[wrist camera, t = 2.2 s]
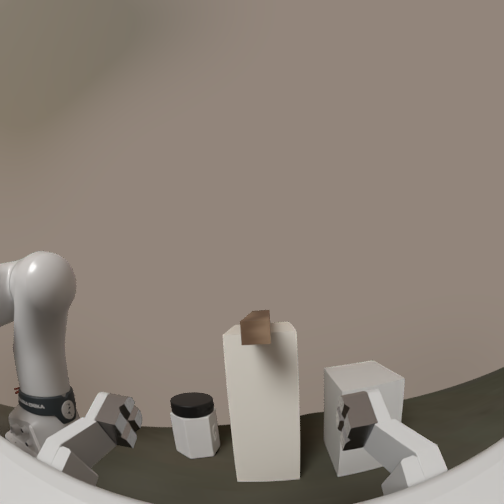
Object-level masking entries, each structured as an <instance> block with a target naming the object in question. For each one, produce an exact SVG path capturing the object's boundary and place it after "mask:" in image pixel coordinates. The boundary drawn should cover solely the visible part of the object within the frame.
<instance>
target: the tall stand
mask: <svg viewBox="0 0 504 504" xmlns="http://www.w3.org/2000/svg"><path fill="white" fill-rule="evenodd" d="M270 334H271V344H258V345H242V344H241V329H240V325H235V326H233V327H232V328H231V329H230V330H228V331H227V332H226V333H225V334H223V347H224V359H225V371H226V383H227V394H228V404H229V414H230V424H231V433H232V442H233V450H234V458H235V466H236V474H237V482H263V481H283V480H295V479H300V409H299V408H300V407H299V375H298V353H297V333H296V329H295V328H294V327H293V326H292V325H291V323H290V322H277V323H270Z"/></svg>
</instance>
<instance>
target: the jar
mask: <svg viewBox="0 0 504 504" xmlns="http://www.w3.org/2000/svg"><path fill="white" fill-rule="evenodd" d="M170 402H171V408H172V412H171V413H170V416H171V422H172V428H173V433H174V438H175V443H176V448H177V451H178V452H180V453H182V454H183V455H185V456H187V457H189V458H190V459H195V458H203V457H211V456H214V455H215V453H216V452H217V450H218V448H219V447H220V440H219V432H218V424H217V416H216V409H215V408H214V403H213V398H212V397H211V396H210V395H208V394H204V393H183V394H179V395H176V396H174V397H172V398H171V400H170Z"/></svg>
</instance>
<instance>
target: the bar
mask: <svg viewBox="0 0 504 504" xmlns="http://www.w3.org/2000/svg"><path fill="white" fill-rule="evenodd" d="M240 329H241V344H242V345H258V344H271V334H270V314H269V310H261V311H252V312H251V313H250V314H249V315H247V317H245V318H244V319H243V320H241V321H240Z"/></svg>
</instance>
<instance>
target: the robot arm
mask: <svg viewBox="0 0 504 504" xmlns="http://www.w3.org/2000/svg"><path fill="white" fill-rule="evenodd" d="M75 293H76V278H75V275H74V272H73V269H72V267H71V266H70V264H69V263H68V262H67V261H66V260H65V259H64V258H63V257H62V256H60V255H58V254H55V253H51V252H46V251H37V252H34V253H32V254H30V255H28V256H26V257H25V258H22V259H20V260H17V261H13V262H7V263H1V264H0V327H1V326H3V325H5V324H8V323H10V322H13V321H14V344H13V352H14V359H15V365H16V371H17V376H18V381H19V386H20V387H18V388H14V390H17V389H19V391H17V392H15V394H17V393H19V395H18V396H19V404H18V405H17V407H16V408H15V409H14V410H13V411H12V412H11V413H10V415H9V423H10V429H11V430H9V431H8V432H7V433H6V435H5V438H6V439H5V438H3V437H2V436H1V435H0V504H153V503H148V502H144V501H140V500H137V499H133V498H129V497H126V496H123V495H119V494H116V493H113V492H110V491H107V490H104V489H102V488H99V487H96V486H95V485H96V483H97V480H98V475H97V474H96V473H95V472H94V471H93V470H91V469H90V468H91V467H92V466H94V465H95V464H96V463H97V462H98V461H99V460H101V459H102V458H103V457H104V456H105V455H106V454H107V453H109V452H110V451H111V450H112V449H113V448H114V447H115V446H116V445H120V446H125V447H130V448H133V447H134V444H135V441H136V438H137V435H136V431H137V430H139V429H140V427H141V424H142V415H141V412H140V410H139V409H138V408H137V407H136V406H134V404H135V402H134V400H133V398H132V397H126V396H121V395H116V394H111V393H106V392H100V393H98V395H97V396H96V398H95V400H94V402H93V403H92V405H91V407H90V409H89V411H88V413H87V415H86V416H85V418H84V417H82V418H80V417H79V415H78V412H77V410H76V402H75V398H74V393H73V389H72V387H71V386H70V384H69V378H68V372H67V365H66V357H65V333H66V324H67V316H68V310H69V307H70V305H71V303H72V301H73V299H74V297H75ZM338 402H339V406H338V407H337V409H336V424H337V429H338V430H339V431H341V435H340V442H341V447H342V451H347V450H352V449H358V448H363V447H364V448H363V449H365V450H366V451H367V452H368V453H369V454H370V455H371V456H372V457H373V458H374V459H376V460H377V461H378V462H379V463H380V464H381V465H382V466H383V467H384V468H386V469H387V470H388V471H389V472H390V473H391V474H390V475H389V476H388V478H387V479H386V480H385V481H384V482H383V484H382V485H381V486H382V490H383V494H384V496H381V497H378V498H374V499H371V500H367V501H363V502H359V503H355V504H504V438H502V439H501V440H499V441H498V442H496V443H495V444H493V445H492V446H490V447H489V448H487V449H486V450H484V451H482V452H481V453H479V454H477V455H476V456H474V457H472V458H471V459H469V460H467V461H465V462H463V463H462V464H460V465H458V466H456V467H454V468H452V469H450V470H447V467H446V465H445V462H444V460H443V458H442V455H441V453H440V451H439V448H438V446H437V445H436V444H434V443H433V442H431V441H429V440H428V439H426V438H425V437H423V436H421V435H420V434H418V433H417V432H415V431H413V430H412V429H410V428H409V427H407V426H406V425H404V424H402V423H401V422H399V421H398V420H396V419H391V417H390V414H389V412H388V409H387V407H386V404H385V402H384V400H383V397H382V395H381V393H380V390H379V389H372V390H368V391H361V392H356V393H351V394H346V395H340V397H339V400H338Z"/></svg>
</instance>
